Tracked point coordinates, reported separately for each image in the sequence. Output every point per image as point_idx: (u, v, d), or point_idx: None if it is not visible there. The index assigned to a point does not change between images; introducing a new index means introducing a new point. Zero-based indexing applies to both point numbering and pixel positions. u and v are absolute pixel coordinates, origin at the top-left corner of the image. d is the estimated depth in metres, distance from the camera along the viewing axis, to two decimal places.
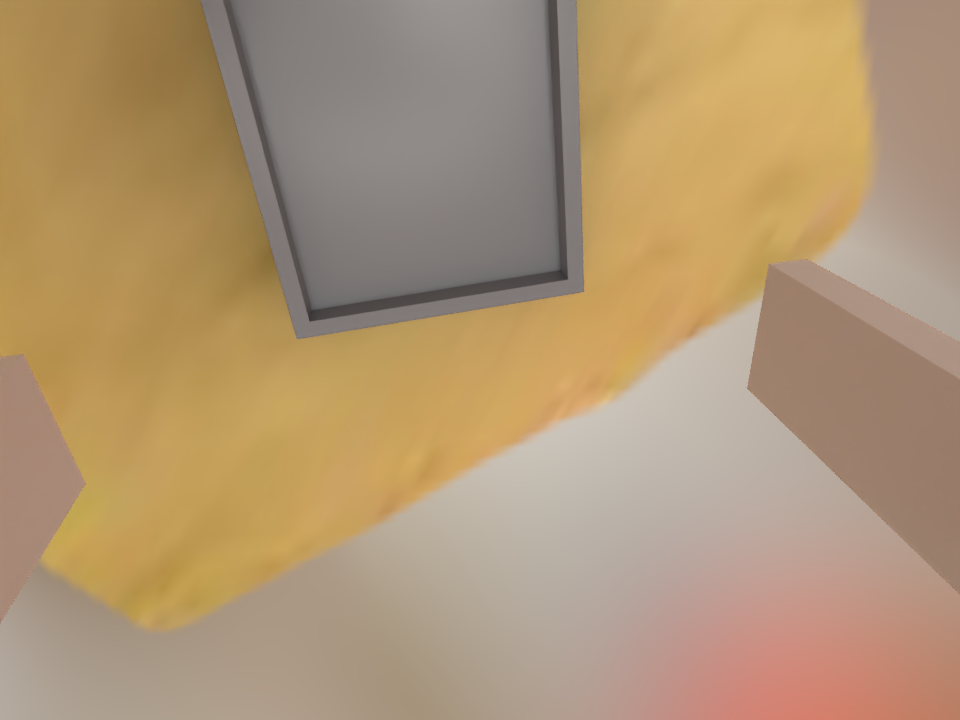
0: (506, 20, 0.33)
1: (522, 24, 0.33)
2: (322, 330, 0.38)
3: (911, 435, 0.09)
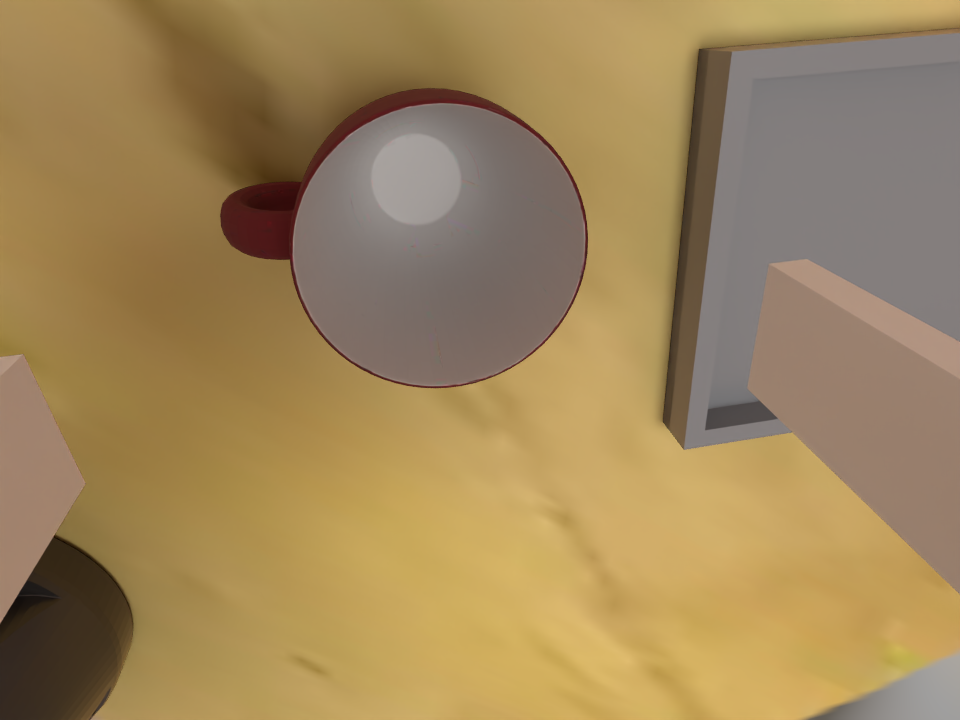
0: (844, 125, 0.26)
1: (855, 103, 0.26)
2: None
3: (911, 435, 0.09)
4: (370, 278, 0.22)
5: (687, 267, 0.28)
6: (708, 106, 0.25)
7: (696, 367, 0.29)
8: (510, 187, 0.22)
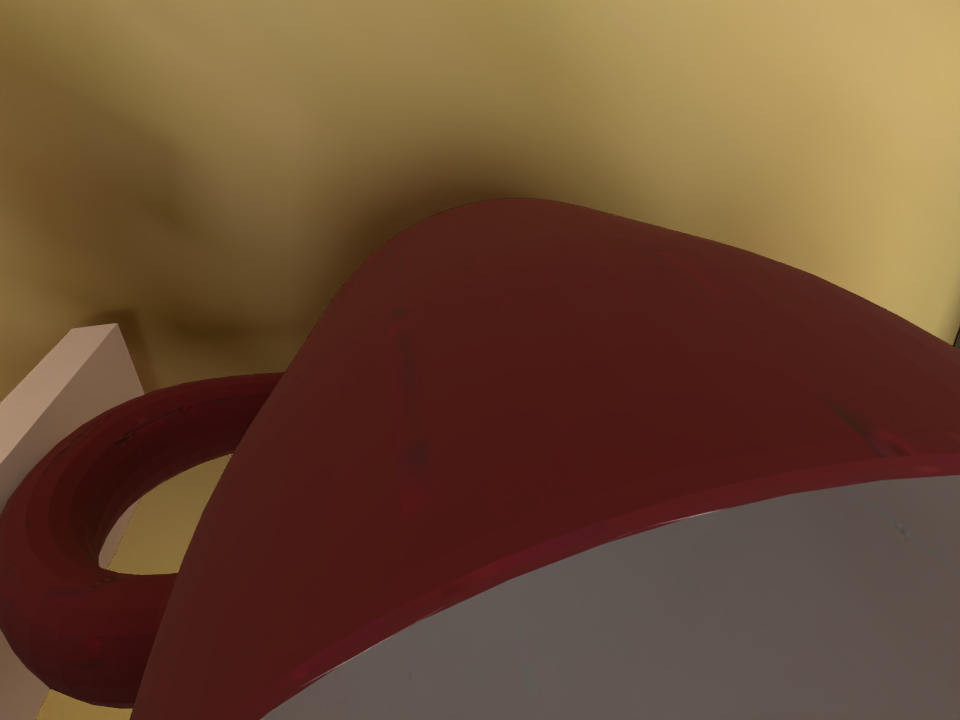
0: None
1: None
2: None
3: None
4: None
5: None
6: None
7: None
8: None
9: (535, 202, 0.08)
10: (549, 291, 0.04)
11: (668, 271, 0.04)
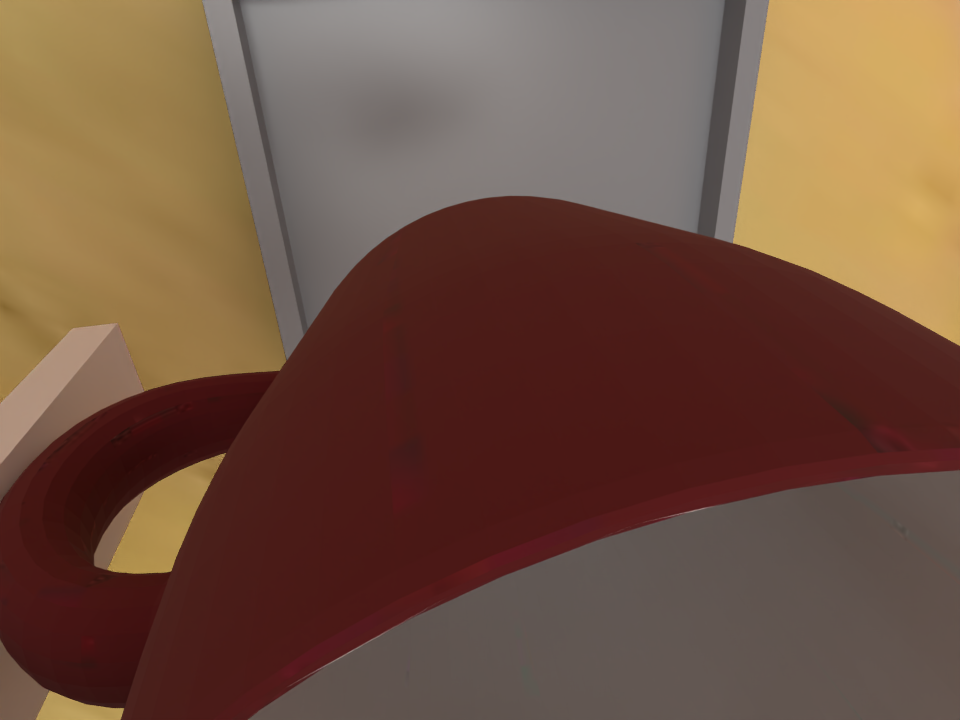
0: (391, 56, 0.25)
1: (396, 33, 0.25)
2: None
3: None
4: None
5: None
6: None
7: (278, 312, 0.28)
8: None
9: (533, 199, 0.08)
10: (545, 287, 0.04)
11: (665, 267, 0.04)
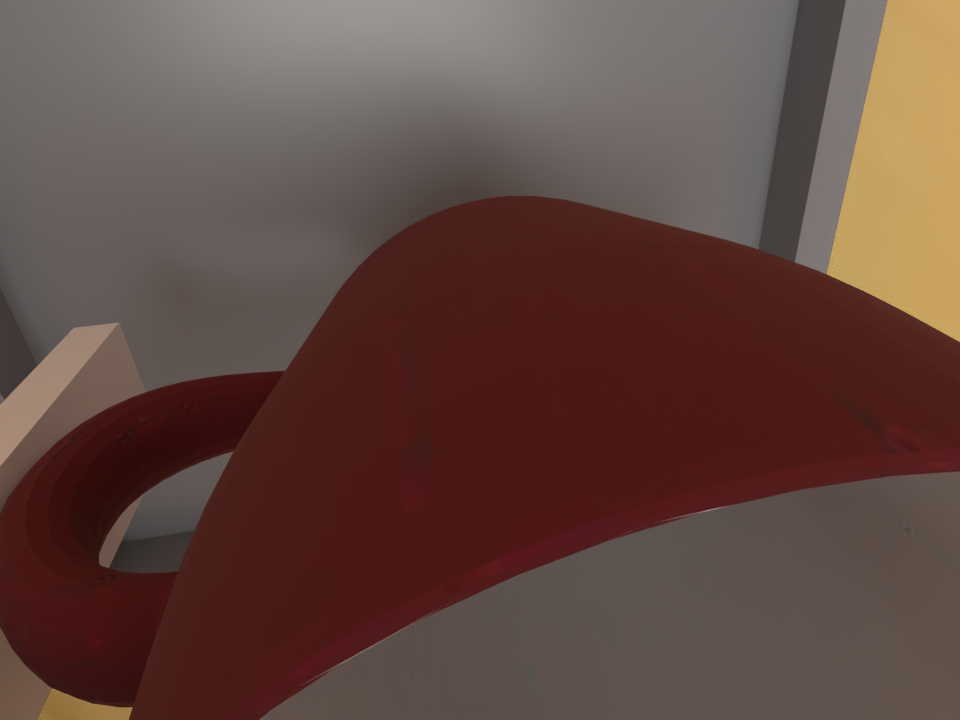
0: (170, 35, 0.13)
1: None
2: None
3: None
4: None
5: None
6: None
7: None
8: None
9: (537, 199, 0.08)
10: (553, 286, 0.04)
11: (673, 266, 0.04)
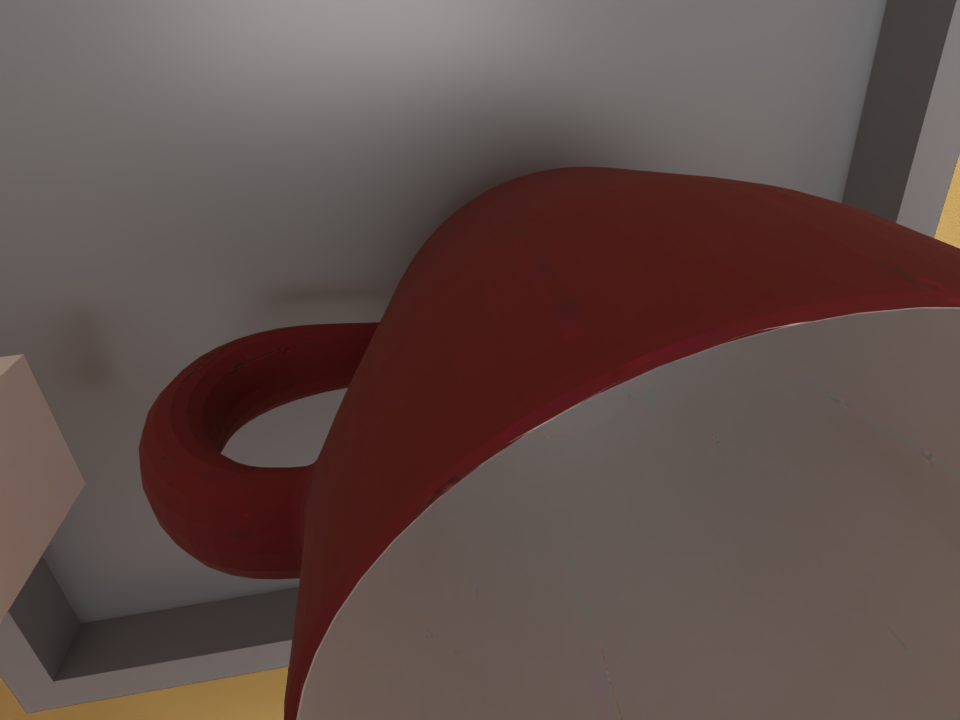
0: (120, 38, 0.11)
1: None
2: None
3: None
4: (461, 517, 0.11)
5: None
6: None
7: None
8: (752, 342, 0.11)
9: None
10: (650, 208, 0.05)
11: (745, 196, 0.05)
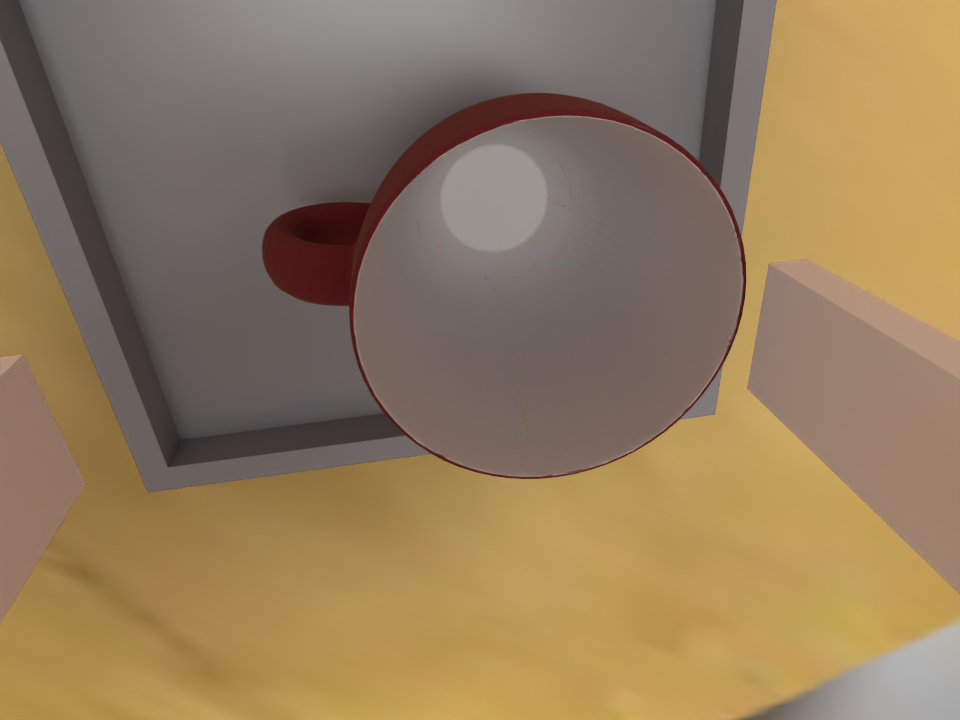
0: (237, 29, 0.18)
1: None
2: (712, 381, 0.24)
3: (911, 435, 0.09)
4: (438, 321, 0.18)
5: None
6: None
7: (106, 382, 0.21)
8: (615, 214, 0.18)
9: None
10: (503, 99, 0.12)
11: (544, 94, 0.12)
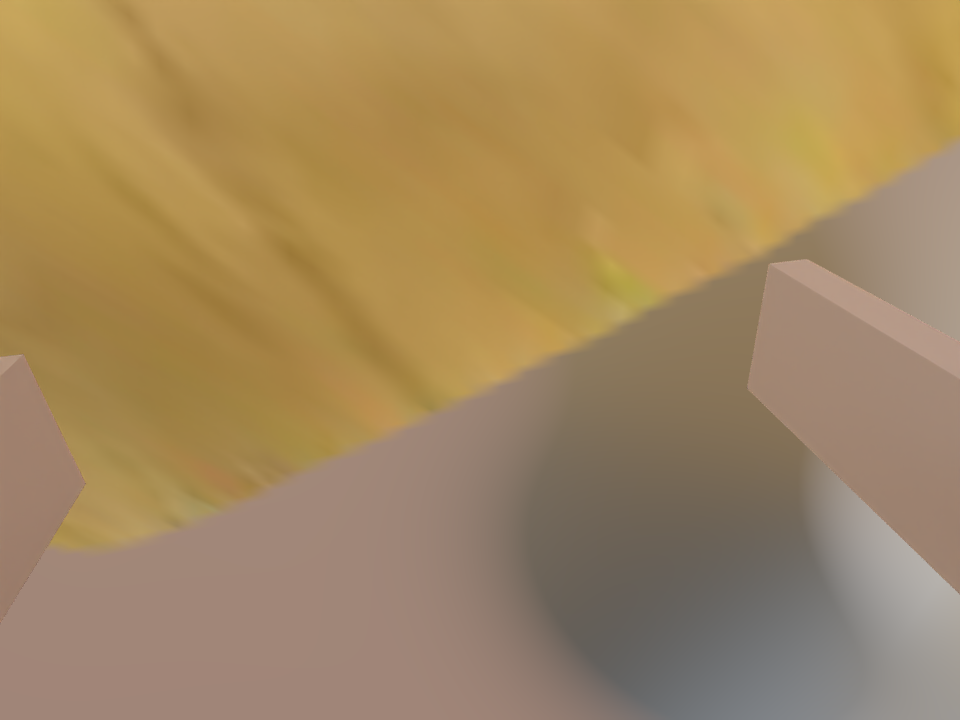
0: None
1: None
2: None
3: (911, 435, 0.09)
4: None
5: None
6: None
7: None
8: None
9: None
10: None
11: None
